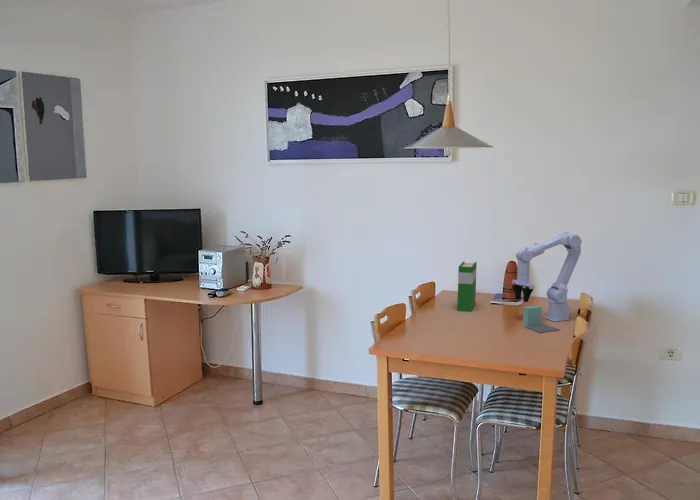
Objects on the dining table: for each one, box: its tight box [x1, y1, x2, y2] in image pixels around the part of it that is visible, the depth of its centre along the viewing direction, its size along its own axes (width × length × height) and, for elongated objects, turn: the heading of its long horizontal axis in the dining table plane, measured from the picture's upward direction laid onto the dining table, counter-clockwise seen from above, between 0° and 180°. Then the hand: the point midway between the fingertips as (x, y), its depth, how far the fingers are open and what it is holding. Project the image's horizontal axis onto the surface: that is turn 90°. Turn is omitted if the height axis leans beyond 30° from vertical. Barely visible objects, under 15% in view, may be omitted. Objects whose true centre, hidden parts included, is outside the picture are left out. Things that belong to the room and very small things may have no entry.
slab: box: [522, 305, 543, 327], centre depth 296 cm, size 8×4×9 cm, turn 112°
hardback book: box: [456, 261, 477, 313], centre depth 330 cm, size 18×7×24 cm, turn 162°
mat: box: [524, 323, 561, 334], centre depth 290 cm, size 12×11×1 cm
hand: (522, 300), depth 302 cm, fingers open, 5 cm apart
